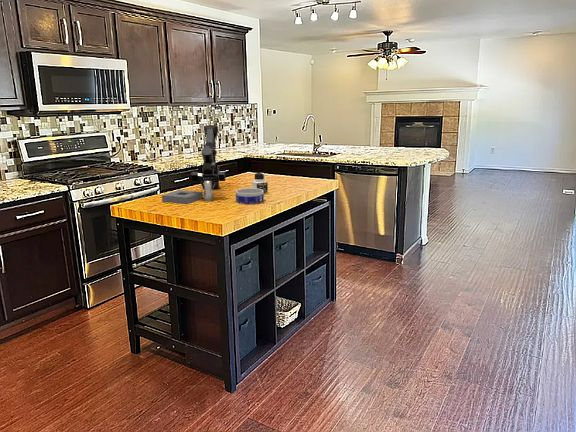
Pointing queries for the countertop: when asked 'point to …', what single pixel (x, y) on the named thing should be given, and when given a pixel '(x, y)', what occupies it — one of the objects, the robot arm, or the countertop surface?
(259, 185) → the medicine bottle
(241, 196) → the dog bowl
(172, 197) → the socket block
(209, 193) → the peg
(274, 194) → the countertop surface
